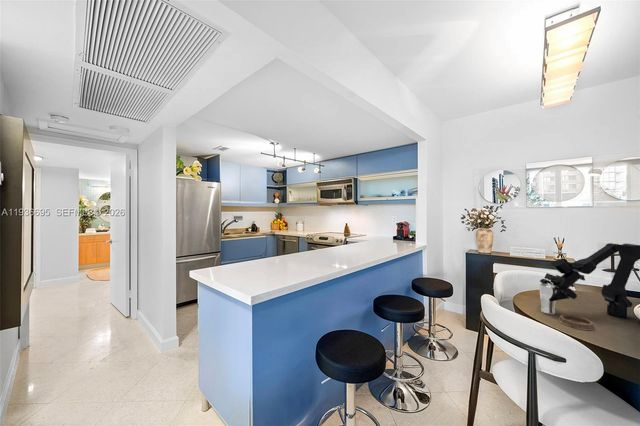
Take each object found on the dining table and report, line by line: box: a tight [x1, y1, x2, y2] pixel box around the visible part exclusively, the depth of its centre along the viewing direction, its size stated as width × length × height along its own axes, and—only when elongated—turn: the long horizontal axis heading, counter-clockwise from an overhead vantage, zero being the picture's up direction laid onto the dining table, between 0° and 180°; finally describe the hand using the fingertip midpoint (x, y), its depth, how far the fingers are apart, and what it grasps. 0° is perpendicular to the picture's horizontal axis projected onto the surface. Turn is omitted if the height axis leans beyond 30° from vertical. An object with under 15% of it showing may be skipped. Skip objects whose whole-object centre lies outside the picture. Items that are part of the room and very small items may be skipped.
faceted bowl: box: [558, 314, 595, 332], centre depth 122 cm, size 12×12×2 cm
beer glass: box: [539, 283, 557, 315], centre depth 136 cm, size 7×7×15 cm
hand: (545, 298), depth 137 cm, fingers closed on beer glass, 6 cm apart
